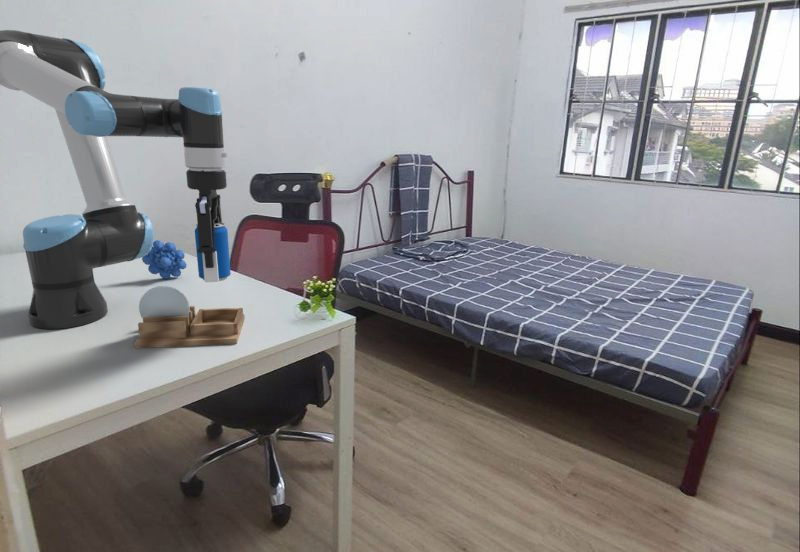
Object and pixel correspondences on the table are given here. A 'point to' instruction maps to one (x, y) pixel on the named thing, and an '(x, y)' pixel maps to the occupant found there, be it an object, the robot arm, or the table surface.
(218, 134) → the robot arm
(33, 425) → the table surface
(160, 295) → the pale blue plate
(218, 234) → the beverage can
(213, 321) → the wooden holder tray
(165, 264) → the blue bumpy lump
